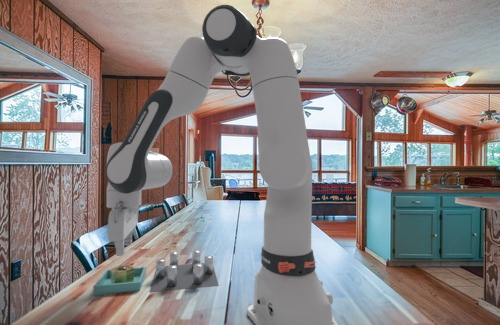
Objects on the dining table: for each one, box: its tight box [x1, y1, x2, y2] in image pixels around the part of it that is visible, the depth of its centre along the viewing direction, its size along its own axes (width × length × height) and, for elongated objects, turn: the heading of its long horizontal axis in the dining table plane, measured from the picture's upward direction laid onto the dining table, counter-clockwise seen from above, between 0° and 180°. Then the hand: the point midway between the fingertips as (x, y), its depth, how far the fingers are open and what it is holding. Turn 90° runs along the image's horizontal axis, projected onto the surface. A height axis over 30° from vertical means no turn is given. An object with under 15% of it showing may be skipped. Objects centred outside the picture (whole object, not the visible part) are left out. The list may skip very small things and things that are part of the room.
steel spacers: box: [155, 249, 214, 287], centre depth 80 cm, size 15×17×5 cm
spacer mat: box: [149, 262, 220, 293], centre depth 80 cm, size 18×18×1 cm
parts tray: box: [93, 266, 147, 297], centre depth 75 cm, size 11×11×2 cm
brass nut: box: [110, 264, 135, 284], centre depth 75 cm, size 6×5×4 cm
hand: (124, 249), depth 75 cm, fingers open, 8 cm apart
